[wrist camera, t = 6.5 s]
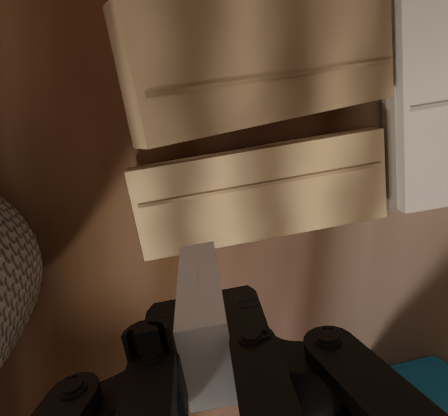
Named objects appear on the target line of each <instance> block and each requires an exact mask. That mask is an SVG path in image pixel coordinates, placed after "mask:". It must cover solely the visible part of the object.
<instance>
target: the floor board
mask: <svg viewBox="0 0 448 416" xmlns="http://www.w3.org/2000/svg"><path fill="white" fill-rule="evenodd" d="M391 17H392V56H393V95H394V97H390V98H386V99H381V113H382V128H384V150H385V180H386V209H388V210H396V209H398V210H400V211H401V212H403V213H405V214H407V213H413V212H419V211H425V210H431V209H437V208H442V207H448V0H391Z"/></svg>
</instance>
